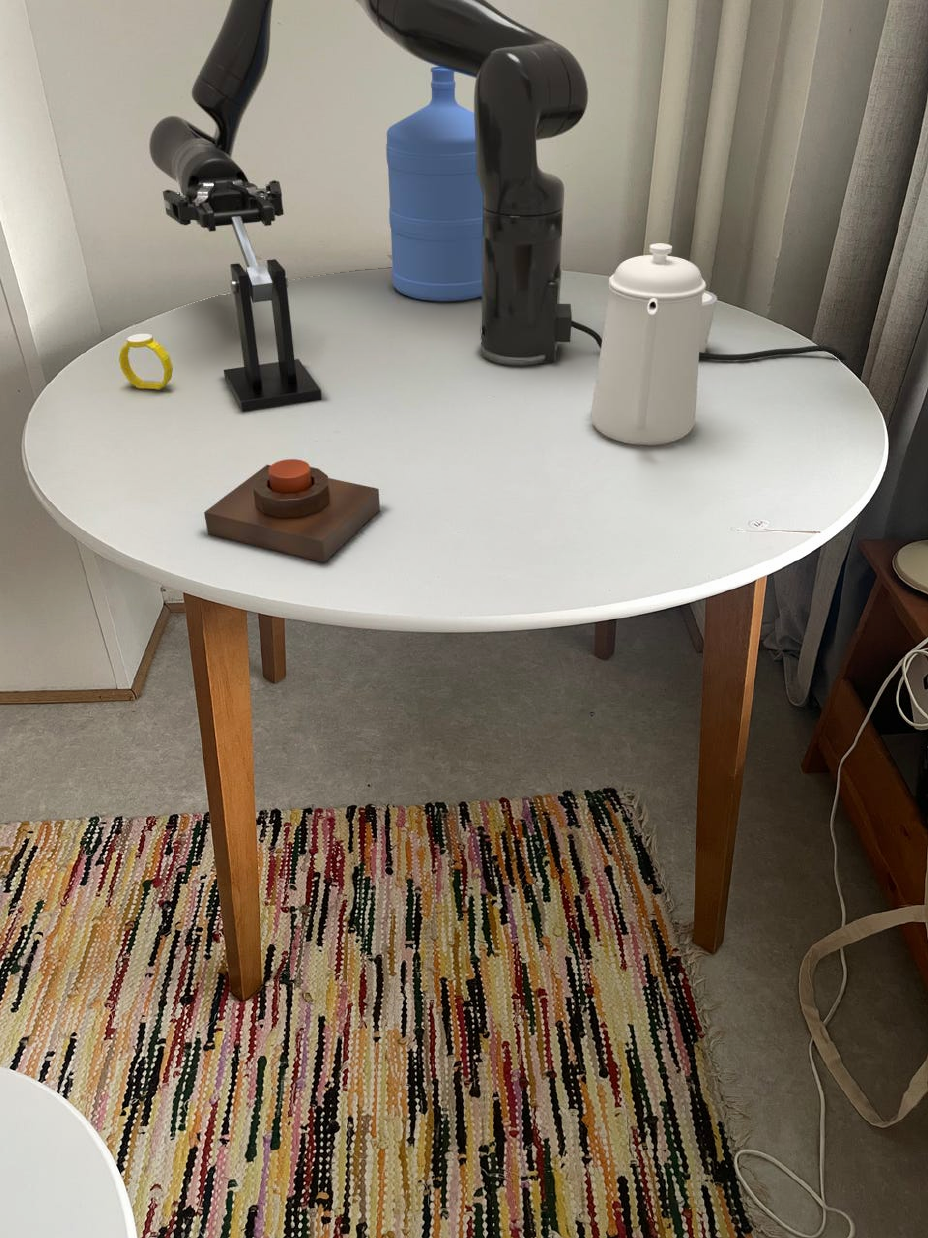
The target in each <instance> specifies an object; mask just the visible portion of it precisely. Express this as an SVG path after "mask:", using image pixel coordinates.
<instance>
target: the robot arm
mask: <svg viewBox="0 0 928 1238" xmlns="http://www.w3.org/2000/svg"><path fill="white" fill-rule="evenodd" d="M354 1H355V2H357V4H359V6H360V7H361V8H362V10H363V11H364V12H365V14H366V16H367V17H368V18H369V21H371V22H372V23H373V24H374V25H375V26H376V28H378V30H379V31H381V32H382V34H384V35H385V36H386V37H387V38H389V39H390V40H391V41H393V42H394V43H395V44H396V45H398V46H399V47H400V48H401V49H403V50H404V51H405V52H407V53H409V55H412V56H413V57H415V58H417V59H418V60H421V61H423V62H425V63H428V64H430V65H433V66H435V67H441V68H444V69H448V70H451V71H454V73H458V74H462V75H465V76H467V77H471V78H474V79H475V82H474V91H473V113H474V124H475V146H476V168H477V176H478V180H479V183H480V186H481V190H482V195H483V215H482V296H481V326H480V329H479V331H480V333H479V334H480V340H481V342H480V354H481V355H482V357H483V358H485V359H486V360H488V361H491V362H494V363H496V364H501V365H507V366H517V367H518V366H521V367H522V366H534V365H539V364H544V363H551V364H552V363H555V360H556V356H557V353H558V343H571V339H572V328H574V329H576V330H578V331H581V332H583V333H586V334H587V335H589V336H591V337H592V338H593V339H594V340H595V342H596V343H597V345H598V347H599V349H600V350H601V345H602V339H603V337H601V335H600V334H599V333H598V332H597V331H595V330H593V329H592V328H591V327H588V326H587V325H584V324H582V323H579V322H577V321H574V320H573V315H572V305H571V303H561V302H560V301H561V284H562V283H561V282H562V270H561V262H562V261H561V259H562V242H563V241H562V240H563V221H564V204H565V185H564V181H562V179H561V178H560V177H558V176H556V175H555V174H552V173H548V172H545V171H543V170H542V169H540V167H539V164H538V153H537V141H540V140H541V141H542V140H547V139H552V138H556V137H559V136H561V135H563V134H565V133H567V132H569V131H570V130H572V129H574V128H575V127H576V126H577V125H578V124H579V123H580V121H581V120H582V118H583V116H584V115H585V113H586V110H587V107H588V102H589V89H588V82H587V80H586V76H585V73H584V70H583V68H582V66H581V65H580V63H579V61H578V59H577V58H576V57H575V56H574V55H573V53H572V52H571V51H570V50H569V49H568V48H567V47H565V46H564V45H562V44H561V43H559V42H557V41H555V40H553V39H551V38H549V37H547V36H545V35H543V34H541V33H540V32H539V33H538V32H537V31H535V30H534V29H531V28H529V27H528V26H525V25H524V24H521V23H519V22H518V21H516V20H514V19H513V18H510V17H509V16H508V15H506V14H505V13H503V12H502V11H500V10H499V9H498V8H496V7H495V6H493V5H492V4H491V3H490V2H488V1H487V0H354ZM273 3H274V0H231V1H230V4H229V6H228V9H227V12H226V15H225V18H224V21H223V22H222V25H221V28H220V30H219V32H218V34H217V37H216V39H215V40H214V42H213V45H212V46H211V49H210V51H209V52H208V55H207V57H206V59H205V61H204V63H203V65H202V67H201V68H200V71H199V73H198V75H197V77H196V79H195V81H194V82H193V86H192V88H191V98H192V100H193V101H194V103H195V104H196V105H197V107H199V108H200V109H201V110H202V111H203V112H204V113H205V114H206V115H208V117H209V118H210V120H211V121H213V123H214V126H215V128H214V134H213V136H212V135H210V134H208V133H207V132H205V131H204V130H202V129H201V128H199V127H198V126H195V125H194V124H193V123H191V122H189V121H188V120H186V119H184V118H183V117H181V116H177V115H169V116H166V117H164V118H162V119H160V120H159V121H158V122H157V123H156V125H155V126H154V127H153V129H152V132H151V134H150V137H149V141H148V142H149V145H148V149H149V155H150V158H151V161H152V162H153V164H154V165H155V167H156V168H157V169H159V171H161V172H163V174H165V175H166V176H168V177H169V178H170V179H172V180H173V181H175V182H176V183H177V184H178V185H179V189H180V192H179V191H174V190H172V189H165V190H163V191H162V195H163V201H164V209H165V213H166V215H167V216H169V217H170V218H171V219H173V220H174V221H175V222H177V224H179V225H182V226H188V225H190V224H191V223H192V221H195V222H196V224H197V225H199V226H200V227H201V228H203V229H207V230H208V232H217V228H216V227H217V226H215V219H214V213H215V212H225V211H235V210H246V209H256V208H258V209H259V212H260V217H261V221H260V222H261V224H262V225H263V226H264V227H269V226H272V222H275V221H276V217H281V216H283V215H285V213H284V207H283V206H284V205H283V198H282V197H283V194H282V188H281V187H282V186H281V185H280V184H281V183H280V181H278V180H276V179H274V180H270V181H269V182H268V183H267V184H265V187H263V188H258V186H257V185H256V184H255V183H252V182H250V181H249V180H248V179H249V178H248V177H247V175H246V173H245V172H244V171H243V169H241V167H240V166H239V165H238V164H237V163H236V162H235V161H234V160H233V158H232V157H233V152H234V147H235V142H236V138H237V135H238V131H239V128H240V125H241V123H242V119H243V118H244V115H245V114H246V111H247V109H248V107H249V105H250V104H251V102H252V100H253V98H254V96H255V94H256V92H257V89H258V88H259V86H260V84H261V83H262V80H263V78H264V76H265V73H266V70H267V66H268V62H269V56H270V49H271V48H270V46H271V25H272V11H273V6H274V5H273ZM814 352H815V353H816V352H824V353H829V354H832V355H833V356H835V357H836V358H838V359H839V360H841V361H848V358H847V356H846V355H845V354H844V353H843V352H842V351H841V350H840V349H838V348H836V347H833V346H830V345H823V344H821V345H819V344H817V345H809V346H802V347H792V348H791V347H790V348H789V347H788V348H775V349H768V350H767V349H766V350H760V351H756V352H747V353H733V354H731V353H729V354H728V353H727V354H725V353H712V352H711V353H709V352H705V353H701V352H699V360H711V361H746V360H754V359H760V358H767V357H773V356H782V355H783V356H784V355H786V356H787V355H799V354H807V353H814Z"/></svg>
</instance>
